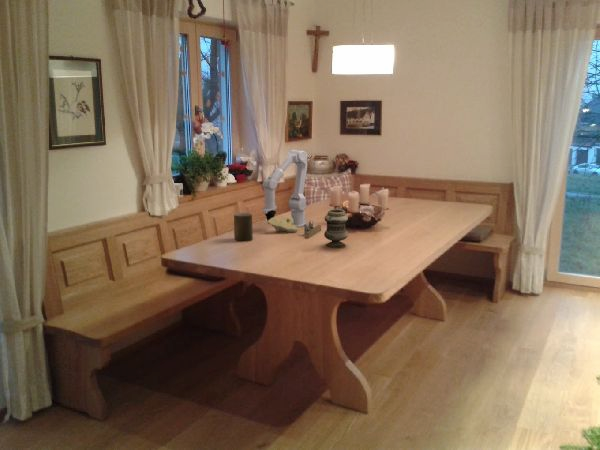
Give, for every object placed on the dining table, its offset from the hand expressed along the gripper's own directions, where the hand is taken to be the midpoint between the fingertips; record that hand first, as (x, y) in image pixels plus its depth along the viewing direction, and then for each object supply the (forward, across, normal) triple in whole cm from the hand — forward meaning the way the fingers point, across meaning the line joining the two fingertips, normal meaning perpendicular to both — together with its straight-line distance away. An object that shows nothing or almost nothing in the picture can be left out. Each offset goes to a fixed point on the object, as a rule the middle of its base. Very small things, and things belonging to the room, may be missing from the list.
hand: (270, 223), depth 323 cm
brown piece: (+4, 0, +25) cm, 25 cm away
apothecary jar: (+4, +19, +45) cm, 49 cm away
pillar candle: (+4, +24, -5) cm, 25 cm away
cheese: (+4, +2, +8) cm, 9 cm away
